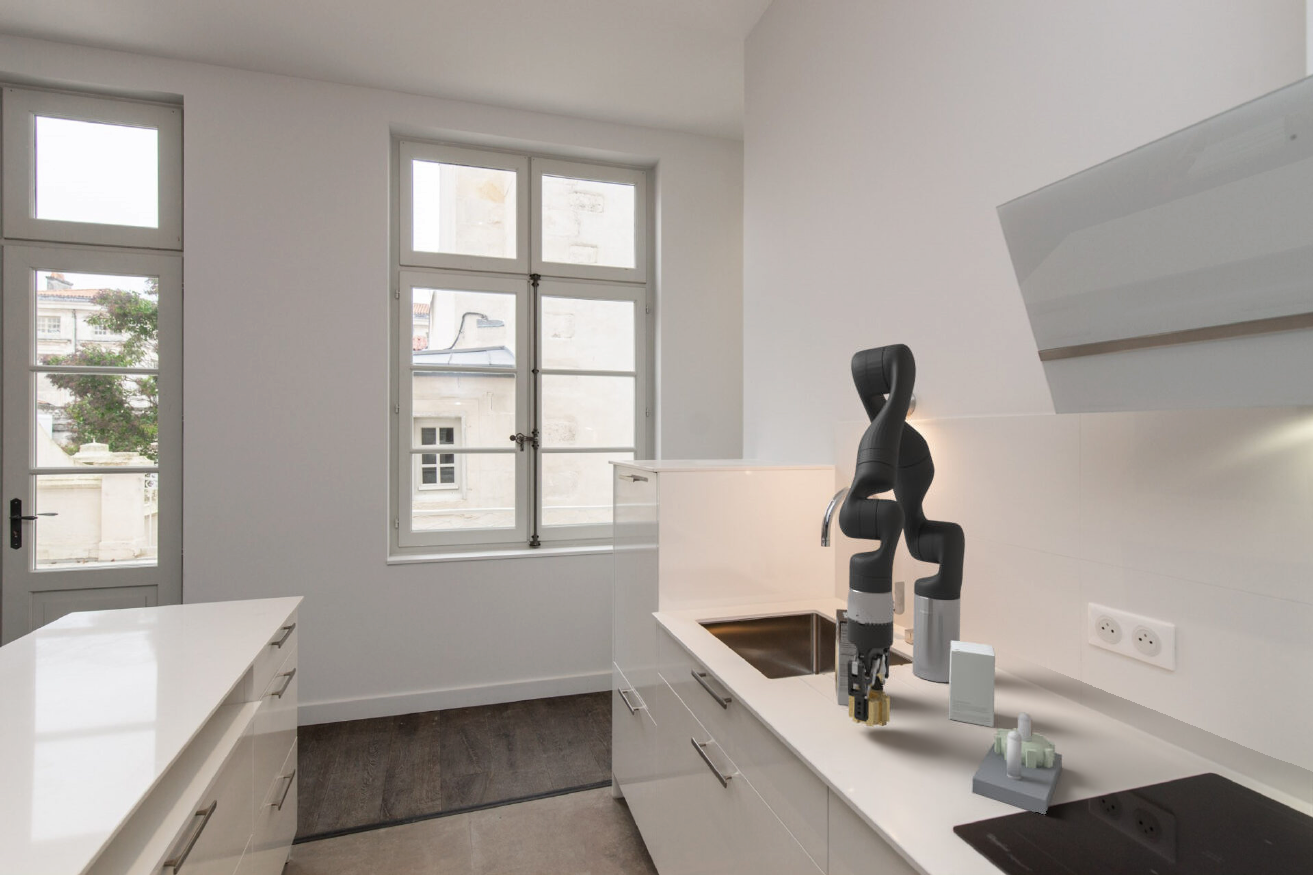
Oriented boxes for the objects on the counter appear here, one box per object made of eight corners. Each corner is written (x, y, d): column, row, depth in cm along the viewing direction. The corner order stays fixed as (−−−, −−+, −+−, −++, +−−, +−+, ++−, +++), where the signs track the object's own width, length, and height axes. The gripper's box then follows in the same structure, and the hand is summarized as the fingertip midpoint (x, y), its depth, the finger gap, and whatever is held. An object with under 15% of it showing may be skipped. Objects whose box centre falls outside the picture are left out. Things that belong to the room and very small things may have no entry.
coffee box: (833, 686, 132) (835, 607, 132) (866, 690, 130) (868, 610, 131) (837, 704, 123) (838, 619, 123) (872, 708, 121) (874, 622, 122)
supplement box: (994, 728, 114) (995, 656, 114) (948, 719, 117) (949, 649, 117) (992, 712, 121) (993, 644, 121) (948, 705, 124) (950, 638, 124)
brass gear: (857, 706, 115) (857, 684, 115) (894, 716, 111) (894, 693, 111) (843, 718, 110) (843, 695, 110) (881, 729, 106) (881, 705, 106)
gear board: (997, 749, 106) (998, 697, 106) (1061, 767, 100) (1062, 712, 100) (972, 791, 92) (973, 732, 93) (1045, 815, 87) (1046, 752, 87)
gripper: (863, 603, 119) (862, 694, 119) (832, 620, 107) (830, 720, 107) (905, 610, 114) (904, 705, 114) (877, 628, 103) (876, 733, 103)
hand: (868, 712), depth 111 cm, fingers closed on brass gear, 6 cm apart
